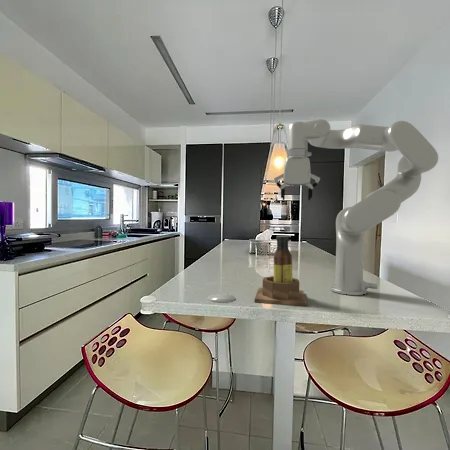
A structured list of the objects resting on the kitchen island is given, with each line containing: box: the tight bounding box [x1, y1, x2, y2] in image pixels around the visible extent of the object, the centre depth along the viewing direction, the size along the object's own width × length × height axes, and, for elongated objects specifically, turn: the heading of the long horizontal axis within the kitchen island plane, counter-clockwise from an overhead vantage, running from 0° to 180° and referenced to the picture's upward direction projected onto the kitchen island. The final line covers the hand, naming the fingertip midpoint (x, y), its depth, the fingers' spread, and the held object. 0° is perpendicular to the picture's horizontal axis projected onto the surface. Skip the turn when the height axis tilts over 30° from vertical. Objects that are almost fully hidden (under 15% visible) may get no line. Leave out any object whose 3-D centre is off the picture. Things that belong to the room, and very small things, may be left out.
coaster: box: [207, 293, 236, 304], centre depth 94 cm, size 9×9×1 cm
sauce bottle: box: [273, 235, 293, 283], centre depth 96 cm, size 7×6×20 cm
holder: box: [254, 275, 308, 307], centre depth 97 cm, size 16×16×6 cm
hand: (296, 199), depth 111 cm, fingers open, 9 cm apart
